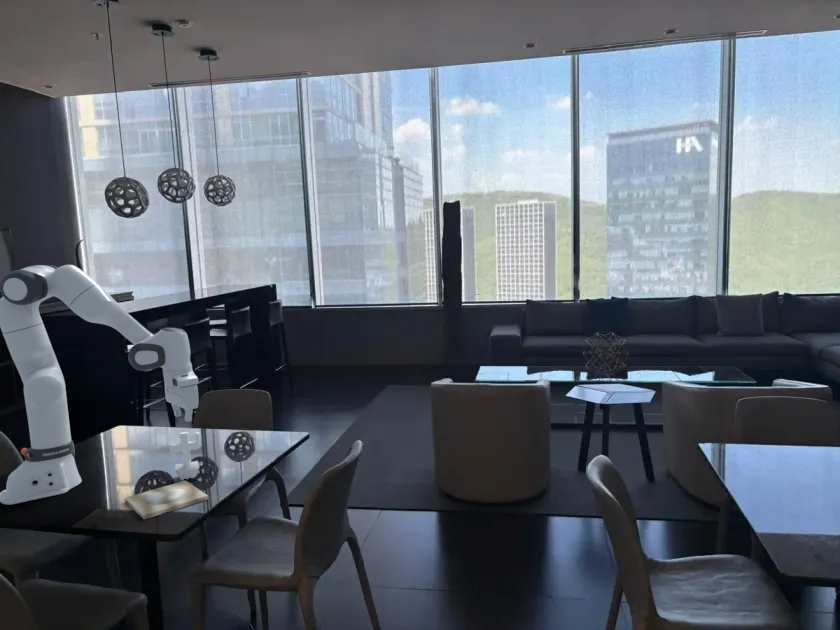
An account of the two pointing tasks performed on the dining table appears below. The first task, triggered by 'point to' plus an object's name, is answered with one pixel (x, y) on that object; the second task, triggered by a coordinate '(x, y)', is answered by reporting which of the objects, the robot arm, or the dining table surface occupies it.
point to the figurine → (186, 456)
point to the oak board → (165, 499)
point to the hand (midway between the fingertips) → (183, 418)
